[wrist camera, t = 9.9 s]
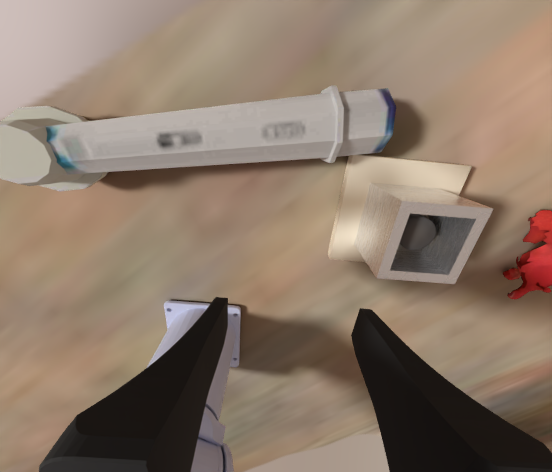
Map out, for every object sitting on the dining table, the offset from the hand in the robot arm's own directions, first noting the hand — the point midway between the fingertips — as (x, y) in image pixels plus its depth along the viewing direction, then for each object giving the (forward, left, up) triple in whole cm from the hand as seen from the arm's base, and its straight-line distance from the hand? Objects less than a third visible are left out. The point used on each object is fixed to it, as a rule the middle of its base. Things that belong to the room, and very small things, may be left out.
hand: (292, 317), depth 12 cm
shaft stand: (+3, -9, -9) cm, 13 cm away
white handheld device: (+8, +7, -10) cm, 15 cm away
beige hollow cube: (+3, -9, -8) cm, 12 cm away
